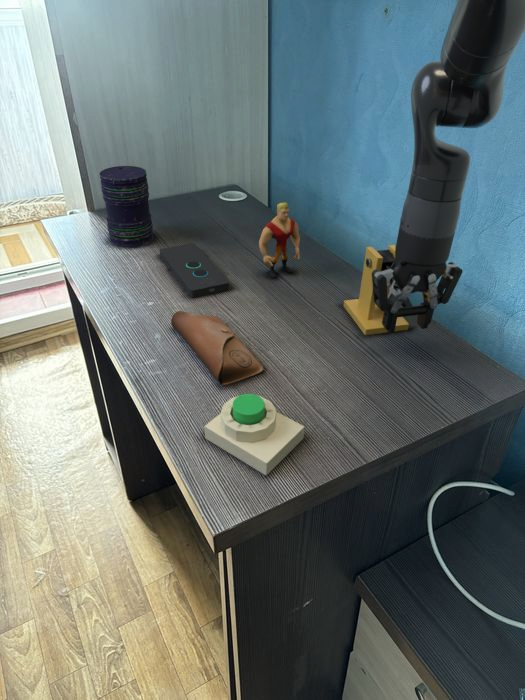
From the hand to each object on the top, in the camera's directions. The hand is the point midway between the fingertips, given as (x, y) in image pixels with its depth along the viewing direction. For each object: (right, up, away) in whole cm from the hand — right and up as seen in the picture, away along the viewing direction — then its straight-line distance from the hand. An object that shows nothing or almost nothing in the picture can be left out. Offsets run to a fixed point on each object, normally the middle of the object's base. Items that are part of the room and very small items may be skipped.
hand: (405, 327), depth 82 cm
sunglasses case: (-30, -4, +1) cm, 30 cm away
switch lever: (-1, +6, +2) cm, 7 cm away
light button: (-24, -12, -16) cm, 32 cm away
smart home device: (-37, +12, +23) cm, 45 cm away
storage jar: (-52, +22, +36) cm, 67 cm away
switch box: (-24, -15, -15) cm, 32 cm away
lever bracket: (-3, +2, +10) cm, 11 cm away
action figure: (-19, +12, +24) cm, 33 cm away
